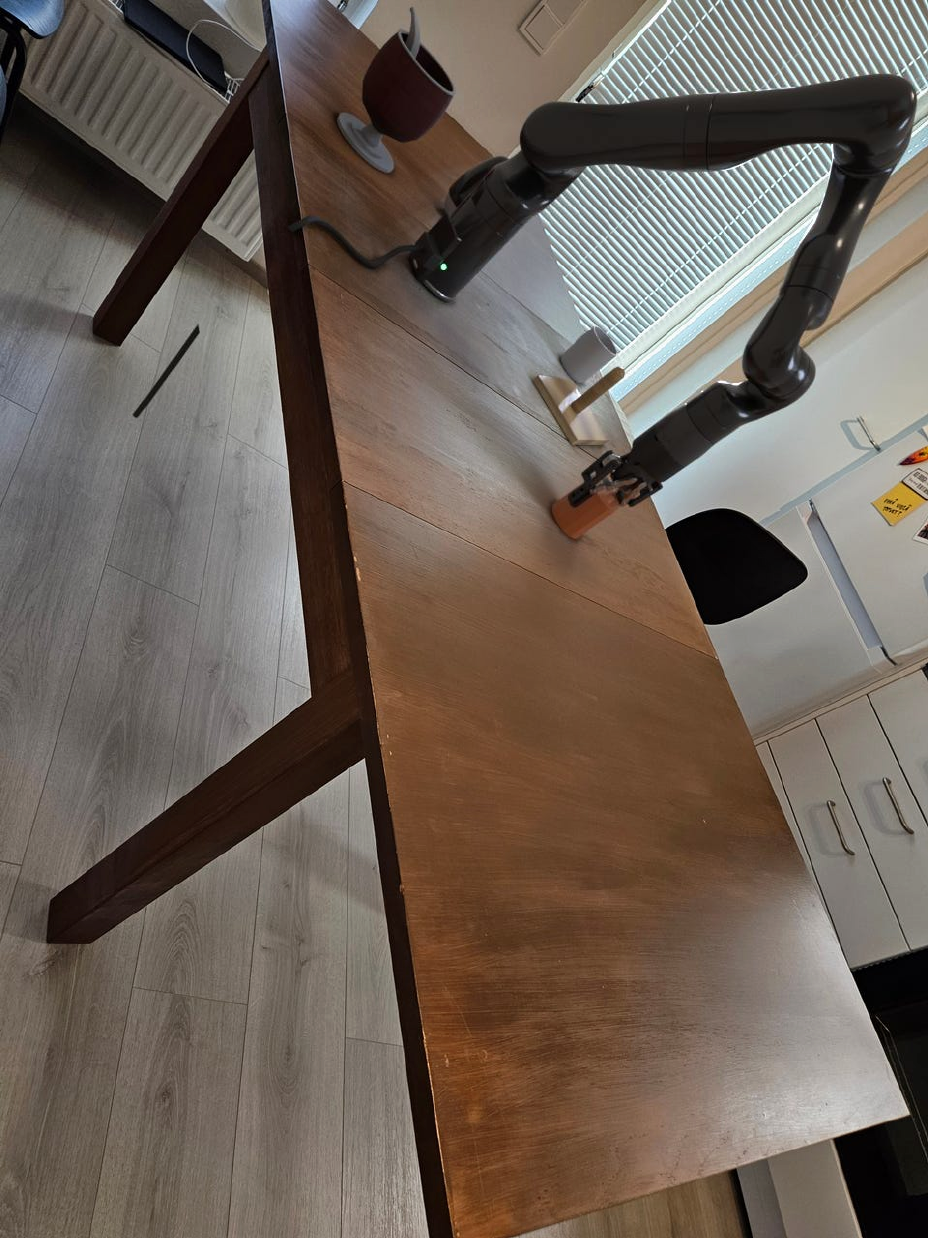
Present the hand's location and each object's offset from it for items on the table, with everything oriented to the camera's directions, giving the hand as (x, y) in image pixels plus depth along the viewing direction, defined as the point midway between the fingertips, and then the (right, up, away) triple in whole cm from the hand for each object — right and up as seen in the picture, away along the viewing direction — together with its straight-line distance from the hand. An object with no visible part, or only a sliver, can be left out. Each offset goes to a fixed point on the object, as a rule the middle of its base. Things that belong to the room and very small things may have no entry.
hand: (584, 507), depth 122 cm
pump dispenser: (-20, +60, +34) cm, 72 cm away
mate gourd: (-37, +69, +21) cm, 80 cm away
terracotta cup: (-3, -2, +2) cm, 4 cm away
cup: (+3, +35, +41) cm, 53 cm away
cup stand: (+1, +21, +26) cm, 34 cm away
